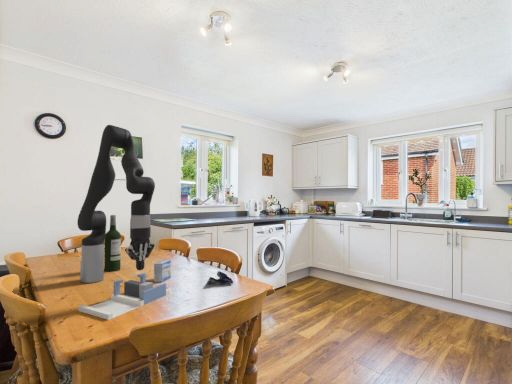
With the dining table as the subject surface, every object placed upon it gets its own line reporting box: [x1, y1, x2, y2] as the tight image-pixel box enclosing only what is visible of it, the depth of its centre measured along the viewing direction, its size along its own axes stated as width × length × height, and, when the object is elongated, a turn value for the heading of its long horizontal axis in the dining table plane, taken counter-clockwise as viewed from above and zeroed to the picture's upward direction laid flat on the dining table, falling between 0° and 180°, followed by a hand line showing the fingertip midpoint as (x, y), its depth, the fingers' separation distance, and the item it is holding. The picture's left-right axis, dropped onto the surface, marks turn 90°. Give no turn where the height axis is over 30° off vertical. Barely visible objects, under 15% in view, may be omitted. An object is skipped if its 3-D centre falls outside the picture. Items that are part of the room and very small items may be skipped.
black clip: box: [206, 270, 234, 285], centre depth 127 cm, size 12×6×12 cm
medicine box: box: [153, 259, 172, 283], centre depth 133 cm, size 8×4×9 cm, turn 168°
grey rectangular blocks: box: [123, 279, 154, 299], centre depth 110 cm, size 12×4×5 cm, turn 64°
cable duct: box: [77, 272, 170, 321], centre depth 104 cm, size 16×26×7 cm, turn 154°
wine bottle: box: [104, 214, 122, 273], centre depth 151 cm, size 8×8×30 cm
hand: (140, 269), depth 110 cm, fingers closed
